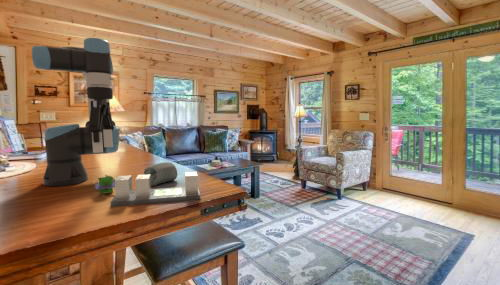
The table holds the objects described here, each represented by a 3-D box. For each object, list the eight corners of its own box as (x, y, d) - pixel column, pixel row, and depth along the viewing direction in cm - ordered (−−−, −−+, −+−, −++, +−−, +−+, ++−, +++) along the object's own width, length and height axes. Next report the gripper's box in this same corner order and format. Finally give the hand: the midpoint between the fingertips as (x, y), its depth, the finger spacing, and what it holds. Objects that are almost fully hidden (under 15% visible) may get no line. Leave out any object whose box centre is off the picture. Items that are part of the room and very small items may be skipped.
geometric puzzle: (117, 190, 91) (115, 169, 94) (94, 193, 87) (93, 171, 91) (117, 197, 96) (116, 177, 99) (95, 200, 93) (95, 179, 96)
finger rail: (118, 195, 92) (117, 174, 91) (197, 189, 99) (197, 170, 98) (110, 206, 81) (109, 182, 80) (200, 199, 88) (199, 177, 87)
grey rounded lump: (152, 181, 98) (150, 156, 102) (139, 188, 103) (138, 164, 107) (183, 182, 108) (181, 160, 112) (170, 189, 113) (168, 167, 117)
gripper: (102, 83, 78) (106, 154, 81) (119, 90, 102) (122, 144, 105) (73, 82, 76) (78, 155, 79) (97, 89, 100) (101, 145, 103)
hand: (103, 149), depth 92 cm, fingers open, 13 cm apart
